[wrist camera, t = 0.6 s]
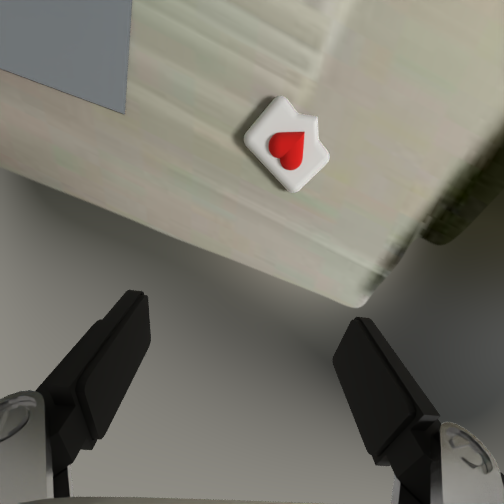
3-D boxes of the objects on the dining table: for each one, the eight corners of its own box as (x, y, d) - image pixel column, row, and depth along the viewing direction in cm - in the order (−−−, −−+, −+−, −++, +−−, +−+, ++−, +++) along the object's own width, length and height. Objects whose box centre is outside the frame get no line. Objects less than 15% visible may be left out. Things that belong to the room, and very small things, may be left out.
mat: (-89, -133, 21) (-94, -137, 21) (133, -28, 25) (132, -30, 25) (-50, 50, 28) (-53, 49, 27) (124, 114, 31) (123, 113, 31)
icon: (349, 149, 30) (296, 199, 33) (337, 149, 34) (291, 194, 37) (293, 73, 26) (239, 138, 29) (287, 83, 30) (240, 139, 33)
